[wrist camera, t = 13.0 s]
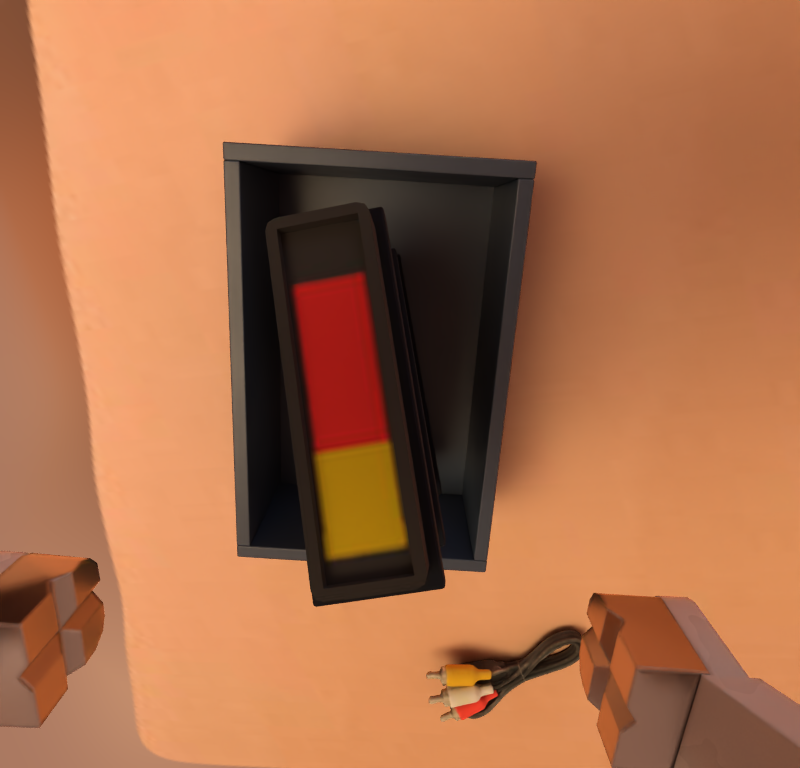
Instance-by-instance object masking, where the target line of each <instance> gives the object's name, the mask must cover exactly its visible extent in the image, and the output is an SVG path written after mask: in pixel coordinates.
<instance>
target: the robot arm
mask: <svg viewBox="0 0 800 768" xmlns="http://www.w3.org/2000/svg"><path fill="white" fill-rule="evenodd" d="M99 581H100V577H99V571H98V565H97V563H96V562H95V561H93V560H92V559H90V558H81V557H71V556H60V555H49V554H38V553H30V554H29V553H23V552H10V551H0V726H1V727H2V726H3V727H27V728H40V726H41V725H42V724H43V722H44V721H45V720H46V718H47V717H48V715H49V714H50V713H51V711H52V710H53V709H54V707H55V706H56V704H57V703H58V702H59V700H60V699H61V698H62V696H63V695H64V693H65V692H66V691H67V689H68V685H67V675H69V674H71V673H72V672H74V671H75V670H77V669H79V668H81V667H82V666H84V665H85V664H86V663H87V661H88V660H89V659H90V657H91V655H92V654H93V653H94V651H95V650H96V647H97V645H98V642H99V640H100V637H101V634H102V632H103V625H104V617H105V614H104V606H103V602H102V601H101V600H100V599H99V598H98V597H97V595H96V594H95V593H94V592H93V591H92V590H93V589H94V588H95V586H96V585H97V584H98V582H99ZM587 615H588V618H589V620H590V622H591V625H592V627H591V628H590V629H589V630H588V631H587V632H586V633H584V634H583V635H582V639H581V645H580V651H579V660H580V674H581V679H582V684H583V688H584V690H585V693H586V696H587V699H588V700H589V701H590V702H591V703H592V704H593V705H594V706H595V707H596V708H597V709H598V710H600V713H599V717H598V722H597V728H598V730H599V733H600V736H601V739H602V741H603V744H604V747H605V750H606V753H607V755H608V758H609V761H610V764H611V766H612V768H800V705H799V704H797V703H796V702H794V701H793V700H791V699H790V698H788V697H787V696H785V695H784V694H782V693H781V692H779V691H778V690H776V689H775V688H773V687H772V686H770V685H769V684H767V683H766V682H764V681H763V680H761V679H757V678H749V677H748V675H747V674H746V672H745V671H744V670H743V668H742V667H741V665H740V664H739V663H738V661H737V660H736V659H735V657H734V656H733V654H732V653H731V652H730V650H729V649H728V648H727V646H726V645H725V643H724V642H723V641H722V639H721V638H720V636H719V635H718V634H717V632H716V631H715V630H714V628H713V627H712V625H711V624H710V623H709V621H708V620H707V618H706V617H705V616H704V614H703V613H702V612H701V610H700V609H699V607H698V606H697V605H696V603H695V602H694V601H692V600H691V599H689V598H688V597H671V596H655V597H649V596H634V595H618V594H602V593H594V594H593V595H592V597H591V599H590V601H589V605H588V610H587Z"/></svg>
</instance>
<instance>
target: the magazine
mask: <svg viewBox="0 0 800 768" xmlns="http://www.w3.org/2000/svg"><path fill="white" fill-rule="evenodd" d="M265 234H266V241H267V249H268V257H269V265H270V273H271V281H272V289H273V297H274V305H275V312H276V320H277V328H278V336H279V344H280V352H281V360H282V368H283V376H284V384H285V391H286V399H287V407H288V415H289V423H290V431H291V439H292V447H293V455H294V462H295V470H296V478H297V486H298V494H299V502H300V510H301V518H302V526H303V534H304V541H305V549H306V557H307V565H308V573H309V581H310V589H311V592H312V598H313V604H314V606H316V607H318V606H325V605H332V604H339V603H346V602H353V601H360V600H367V599H374V598H381V597H388V596H395V595H402V594H409V593H416V592H423V591H430V590H437V589H443V588H445V575H444V568H443V562H442V556H441V550H440V547H441V546H445V533H444V527H443V521H442V515H441V509H440V503H439V498H438V495H440V494H442V490H441V482H440V476H439V470H438V465H437V459H436V454H435V448H434V442H433V437H432V431H431V426H430V420H429V414H428V409H427V403H426V398H425V392H424V387H423V381H422V375H421V370H420V364H419V359H418V353H417V347H416V342H415V336H414V331H413V325H412V319H411V314H410V308H409V303H408V297H407V291H406V286H405V280H404V275H403V269H402V263H401V258H400V255H399V254H397V252H396V250H395V248H391V245H390V239H389V233H388V227H387V221H386V216H385V213H384V209H383V207H376V208H371V209H368V208H367V206H366V205H365V203H359V202H353V203H348V204H343V205H338V206H333V207H328V208H323V209H318V210H313V211H308V212H303V213H298V214H293V215H288V216H283V217H278V218H274V219H273V220H271V221H270V222H268V223H267V226H266V230H265Z"/></svg>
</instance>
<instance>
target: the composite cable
mask: <svg viewBox="0 0 800 768" xmlns="http://www.w3.org/2000/svg"><path fill="white" fill-rule="evenodd" d="M581 639H582V638H581V635H580V634H579V633H578V632H577V631H574V630H564V631H560V632H557V633H555V634H553V635H551V636H550V637H548V638H547V639H545V640H544V641H543V642H541V643H540V644H539V645H538V646H537V647H536V648H535V649H534V650H533V651H532V652H531V653H529V654H528V655H527V656H526V657H524V658H522V659H520V660H517V661H513V662H507V663H505V662H504V661H500V662H496V661H494V660H490V659H489V660H483V661H477V662H471V663H467V664H462V665H445V667H441V669H440V671H438V672H431V671H429V672H428V673H427V674H426V677H427V679H440V680H441V683H442V684H443V686H445V685H447V687H446V689H443V690H442V691H441V694H440V695H436V696H430V698H429V703H430V704H434V703H438V702H442V703H443V704H444V705H445V706H446V707H447V706H450V708H451V711H450V712H447V713H445V714H443V715H442V716H441V717H440V719H441V721H446V720H448V719H450V718H454V719H455V720H456V721H458V720H464V719H466V718H471V719H476V718H480V717H482V716H484V715H486V714H487V713H489V712H490V711H491V710H492V709H493V708H494V707H495V706H496V705H497V704H498V702H499V701H500V700H501V699H502V698H503V697H504V696H505V695H506V694H507V693H508V692H510V691H511V690H512V689H514V688H515V687H517V686H518V685H520V684H521V683H523V682H525V681H527V680H530V679H533V678H536V677H539V676H542V675H544V674H549V673H551V672H554V671H558V670H561V669H563V668H566V667H568V666H570V665H572V664H573V663H575V662H577V661H578V660H579V651H580V645H581ZM568 644H572V645H571V646H570V647H569V648H568V649H566V650H565V651H563V652H561V653H559V654H556V655H553V656H550V657H547V656H548V655H549V654H551V653H552V652H554V651H555V650H556V649H558V648H561V647H562V646H564V645H568ZM545 657H546V658H545Z"/></svg>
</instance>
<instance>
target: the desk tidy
mask: <svg viewBox="0 0 800 768" xmlns="http://www.w3.org/2000/svg"><path fill="white" fill-rule="evenodd" d="M223 158H224V187H225V215H226V244H227V272H228V301H229V329H230V358H231V386H232V415H233V443H234V472H235V500H236V529H237V555H238V556H239V557H254V558H270V559H285V560H301V561H307V557H306V549H305V541H304V534H303V526H302V518H301V510H300V502H299V494H298V486H297V478H296V470H295V462H294V455H293V447H292V439H291V431H290V423H289V415H288V407H287V399H286V391H285V384H284V376H283V368H282V360H281V352H280V344H279V336H278V328H277V320H276V312H275V305H274V297H273V289H272V281H271V273H270V265H269V257H268V249H267V241H266V234H265V230H266V226H267V223H268V222H270V221H271V220H273V219H274V218H278V217H283V216H288V215H293V214H298V213H303V212H308V211H313V210H318V209H323V208H328V207H333V206H338V205H343V204H348V203H353V202H359V203H365V205H366V206H367V208H368V209H371V208H376V207H383V209H384V213H385V216H386V221H387V227H388V233H389V239H390V245H391V248H395V250H396V252H397V254H399V255H400V258H401V263H402V269H403V275H404V280H405V286H406V291H407V297H408V303H409V308H410V314H411V319H412V325H413V331H414V336H415V342H416V347H417V353H418V359H419V364H420V370H421V375H422V381H423V387H424V392H425V398H426V403H427V409H428V414H429V420H430V426H431V431H432V437H433V442H434V448H435V454H436V459H437V465H438V470H439V476H440V482H441V490H442V494H440V495H438V498H439V503H440V509H441V515H442V521H443V527H444V533H445V546H441V547H440V550H441V556H442V562H443V568H444V570H458V571H474V572H485V571H486V564H487V561H486V560H487V556H488V548H489V540H490V532H491V524H492V516H493V508H494V500H495V492H496V484H497V476H498V468H499V460H500V452H501V444H502V436H503V428H504V420H505V412H506V404H507V396H508V388H509V380H510V372H511V364H512V356H513V348H514V339H515V331H516V323H517V315H518V307H519V299H520V291H521V283H522V275H523V267H524V259H525V251H526V243H527V235H528V227H529V219H530V211H531V203H532V195H533V187H534V180H533V179H534V178H535V172H536V164H537V162H536V161H525V160H509V159H492V158H476V157H460V156H444V155H428V154H412V153H395V152H379V151H363V150H347V149H331V148H314V147H298V146H282V145H266V144H250V143H234V142H223Z"/></svg>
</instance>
